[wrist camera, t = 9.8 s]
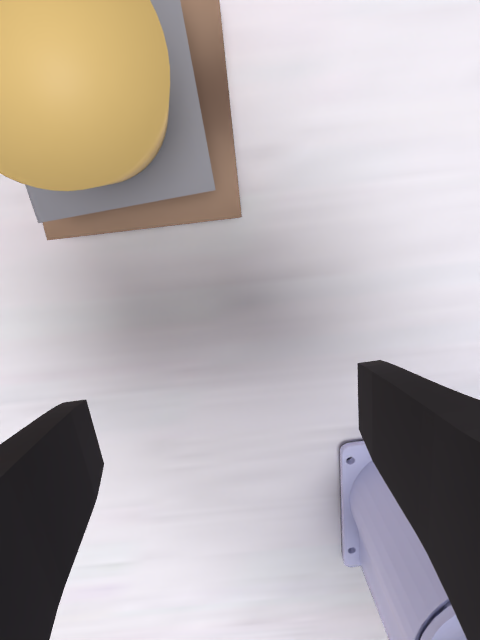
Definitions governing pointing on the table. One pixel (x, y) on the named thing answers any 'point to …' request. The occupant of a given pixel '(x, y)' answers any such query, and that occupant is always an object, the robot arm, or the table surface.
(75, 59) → the ochre cylinder
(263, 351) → the table surface
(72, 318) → the table surface
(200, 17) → the walnut base block
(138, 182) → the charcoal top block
